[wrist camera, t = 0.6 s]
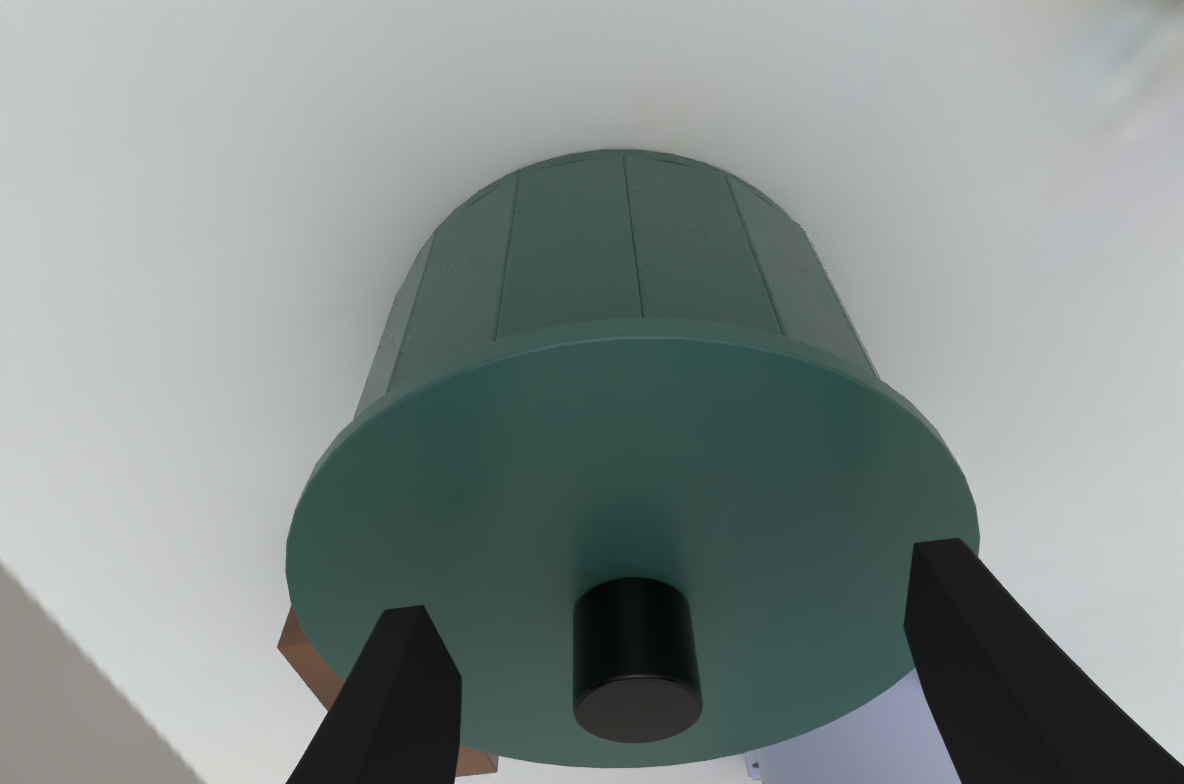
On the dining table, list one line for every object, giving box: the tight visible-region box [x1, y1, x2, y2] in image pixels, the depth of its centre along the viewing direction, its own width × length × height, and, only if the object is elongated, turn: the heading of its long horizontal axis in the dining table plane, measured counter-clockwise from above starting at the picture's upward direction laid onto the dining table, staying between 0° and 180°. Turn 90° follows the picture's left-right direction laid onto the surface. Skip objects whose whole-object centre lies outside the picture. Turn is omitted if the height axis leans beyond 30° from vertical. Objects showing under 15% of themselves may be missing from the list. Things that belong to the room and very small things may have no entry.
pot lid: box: [285, 318, 980, 768], centre depth 14 cm, size 13×13×3 cm
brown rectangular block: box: [277, 605, 499, 777], centre depth 26 cm, size 9×4×4 cm, turn 11°
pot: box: [353, 150, 881, 420], centre depth 18 cm, size 12×12×8 cm
